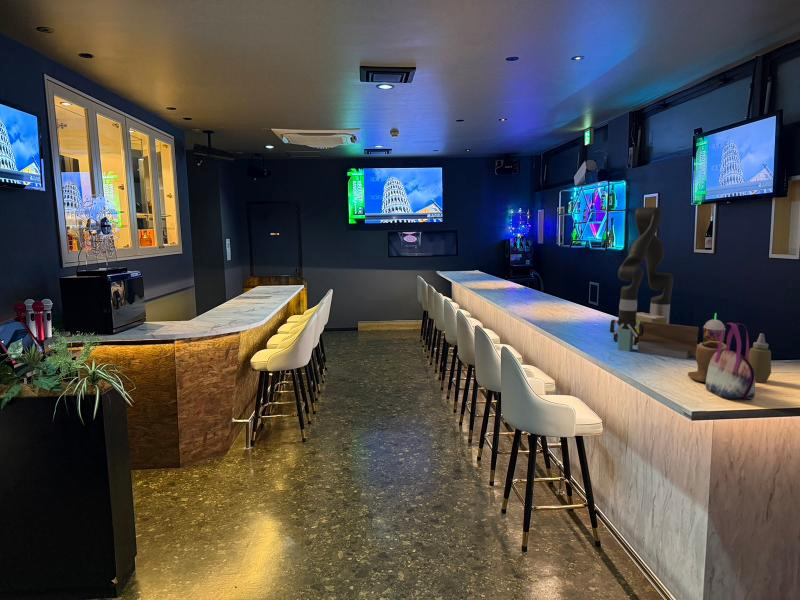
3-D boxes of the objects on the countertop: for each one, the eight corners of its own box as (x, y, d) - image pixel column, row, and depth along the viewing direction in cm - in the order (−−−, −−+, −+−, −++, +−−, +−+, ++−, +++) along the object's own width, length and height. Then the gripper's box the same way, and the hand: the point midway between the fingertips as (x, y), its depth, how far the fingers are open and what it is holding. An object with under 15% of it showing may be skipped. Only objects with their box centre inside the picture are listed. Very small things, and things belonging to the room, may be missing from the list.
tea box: (624, 342, 261) (626, 312, 259) (639, 340, 265) (641, 311, 263) (650, 348, 248) (652, 317, 245) (665, 346, 252) (667, 316, 250)
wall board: (638, 347, 249) (640, 320, 247) (696, 355, 234) (698, 327, 232) (633, 351, 241) (635, 323, 240) (691, 360, 226) (694, 330, 225)
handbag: (695, 385, 191) (701, 317, 187) (722, 384, 191) (728, 317, 188) (734, 405, 170) (742, 329, 166) (764, 404, 170) (773, 329, 166)
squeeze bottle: (770, 385, 191) (776, 336, 189) (744, 381, 195) (749, 334, 193) (769, 379, 198) (774, 333, 195) (743, 376, 202) (748, 330, 200)
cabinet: (621, 347, 249) (623, 323, 247) (632, 349, 246) (634, 324, 244) (617, 349, 244) (619, 325, 243) (629, 351, 241) (630, 326, 240)
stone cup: (700, 386, 190) (704, 345, 187) (682, 376, 201) (686, 338, 199) (742, 386, 190) (746, 345, 188) (722, 376, 201) (725, 338, 199)
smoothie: (702, 359, 228) (706, 314, 225) (699, 355, 235) (703, 311, 233) (724, 361, 225) (728, 315, 222) (720, 356, 232) (725, 312, 230)
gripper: (646, 309, 241) (643, 344, 243) (614, 306, 250) (612, 339, 252) (642, 311, 235) (639, 346, 237) (609, 308, 244) (607, 342, 246)
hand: (625, 343), depth 244 cm, fingers open, 8 cm apart
